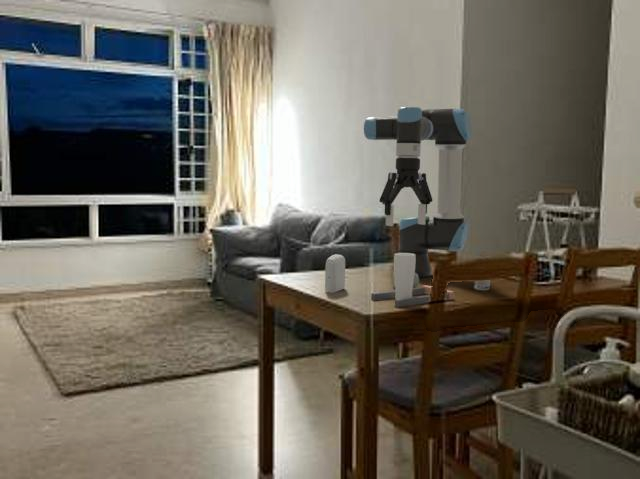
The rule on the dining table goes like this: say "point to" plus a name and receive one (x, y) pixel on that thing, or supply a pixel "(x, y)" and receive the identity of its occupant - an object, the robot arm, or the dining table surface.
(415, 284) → the air freshener
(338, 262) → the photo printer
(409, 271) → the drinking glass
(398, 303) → the guide channel
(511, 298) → the dining table surface
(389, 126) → the robot arm
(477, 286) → the energy drink
